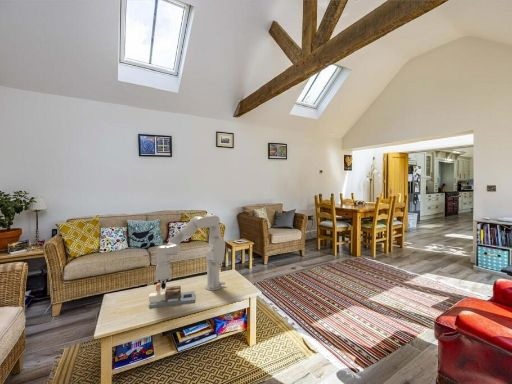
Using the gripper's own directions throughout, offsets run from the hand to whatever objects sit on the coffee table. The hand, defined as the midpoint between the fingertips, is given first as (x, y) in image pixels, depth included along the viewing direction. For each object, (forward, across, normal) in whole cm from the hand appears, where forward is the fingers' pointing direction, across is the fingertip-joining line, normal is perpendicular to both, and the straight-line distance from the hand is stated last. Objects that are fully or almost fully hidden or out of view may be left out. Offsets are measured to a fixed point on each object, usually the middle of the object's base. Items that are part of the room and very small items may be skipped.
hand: (163, 288), depth 175 cm
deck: (+10, -6, 0) cm, 12 cm away
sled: (+8, +4, 0) cm, 8 cm away
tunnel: (+8, -6, 0) cm, 10 cm away
